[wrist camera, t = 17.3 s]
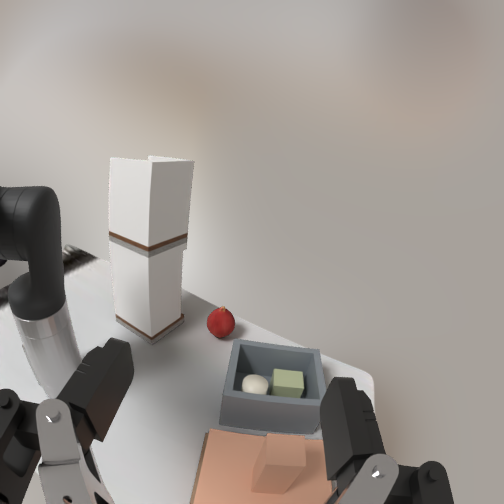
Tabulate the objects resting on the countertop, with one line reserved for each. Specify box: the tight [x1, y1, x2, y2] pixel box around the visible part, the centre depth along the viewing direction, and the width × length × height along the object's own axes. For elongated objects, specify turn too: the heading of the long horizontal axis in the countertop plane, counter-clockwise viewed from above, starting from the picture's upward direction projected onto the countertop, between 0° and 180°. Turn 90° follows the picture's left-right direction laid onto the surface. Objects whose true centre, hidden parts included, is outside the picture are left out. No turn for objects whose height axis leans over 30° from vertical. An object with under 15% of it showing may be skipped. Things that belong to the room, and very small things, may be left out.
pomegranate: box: [207, 306, 235, 338], centre depth 57 cm, size 6×6×8 cm
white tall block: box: [109, 156, 194, 345], centre depth 52 cm, size 11×11×35 cm
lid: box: [193, 428, 332, 504], centre depth 25 cm, size 17×15×12 cm
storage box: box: [219, 338, 326, 434], centre depth 42 cm, size 15×13×8 cm
